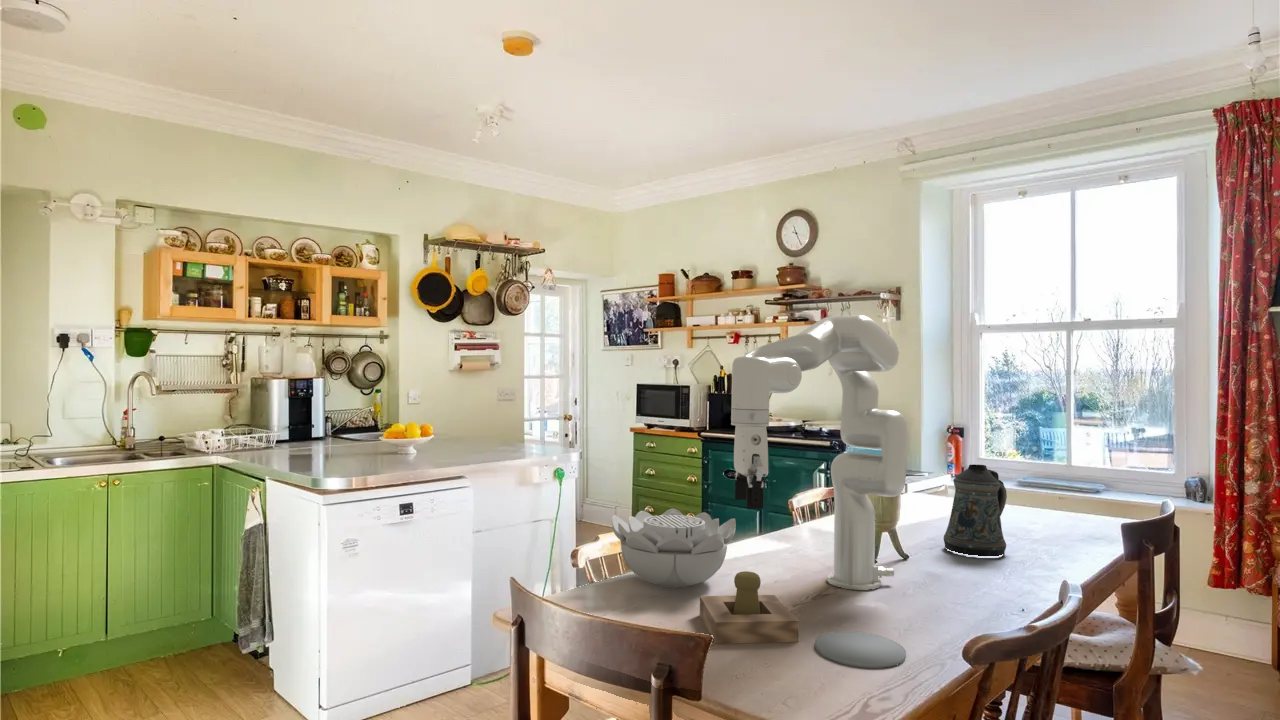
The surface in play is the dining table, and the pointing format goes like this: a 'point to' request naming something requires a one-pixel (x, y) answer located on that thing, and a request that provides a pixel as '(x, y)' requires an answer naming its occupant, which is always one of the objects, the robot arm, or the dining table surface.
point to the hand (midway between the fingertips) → (748, 503)
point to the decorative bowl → (673, 546)
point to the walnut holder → (748, 621)
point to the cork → (747, 593)
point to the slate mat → (860, 649)
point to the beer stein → (977, 513)
